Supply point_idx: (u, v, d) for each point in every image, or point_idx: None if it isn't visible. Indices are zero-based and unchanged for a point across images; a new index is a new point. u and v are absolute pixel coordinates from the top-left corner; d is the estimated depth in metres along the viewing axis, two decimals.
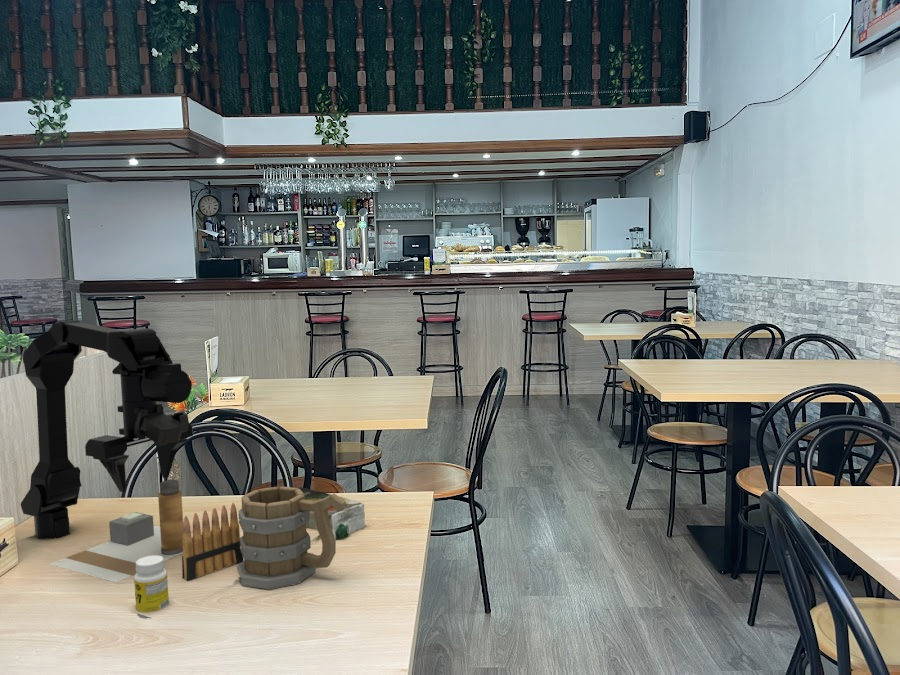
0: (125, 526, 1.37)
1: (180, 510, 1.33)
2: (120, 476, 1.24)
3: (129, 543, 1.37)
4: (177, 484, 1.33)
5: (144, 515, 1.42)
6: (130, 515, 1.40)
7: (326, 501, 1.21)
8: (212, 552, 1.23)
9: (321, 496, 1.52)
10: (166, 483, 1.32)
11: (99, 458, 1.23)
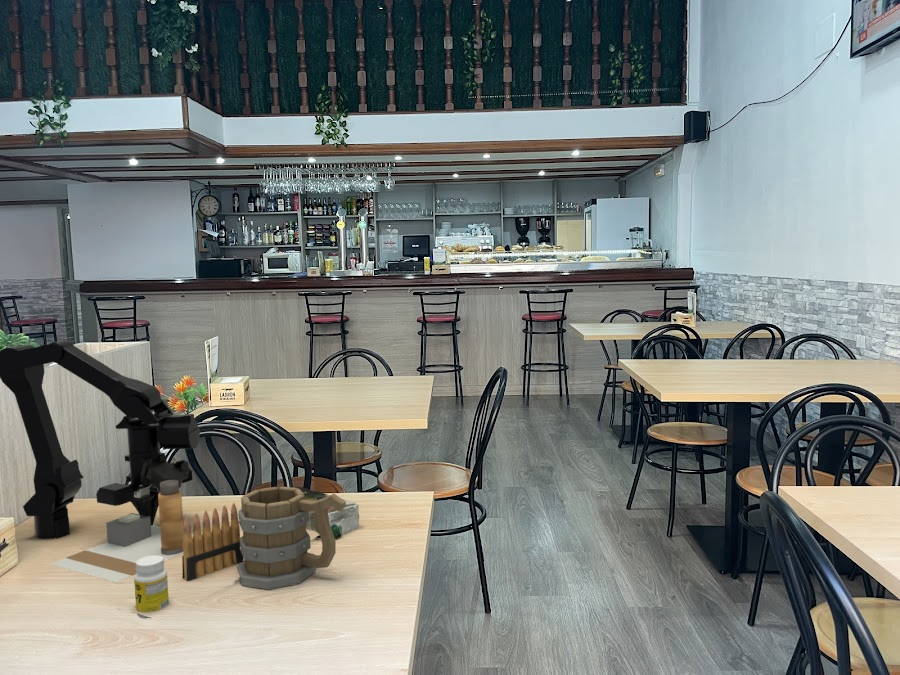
0: (122, 527, 1.36)
1: (180, 510, 1.33)
2: (147, 512, 1.42)
3: (126, 544, 1.36)
4: (177, 484, 1.33)
5: (141, 516, 1.41)
6: (127, 516, 1.40)
7: (326, 501, 1.21)
8: (212, 552, 1.23)
9: (317, 496, 1.52)
10: (166, 483, 1.32)
11: None
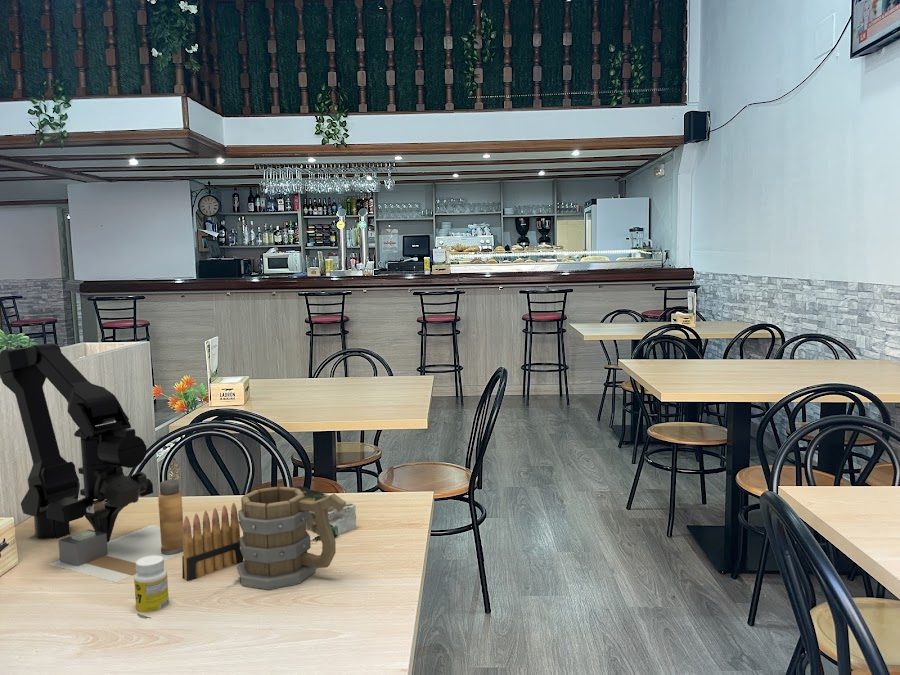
0: (75, 545, 1.27)
1: (180, 510, 1.33)
2: (102, 528, 1.34)
3: (79, 564, 1.28)
4: (177, 484, 1.33)
5: (97, 533, 1.32)
6: (81, 533, 1.31)
7: (326, 501, 1.21)
8: (212, 552, 1.23)
9: (316, 496, 1.52)
10: (166, 483, 1.32)
11: None
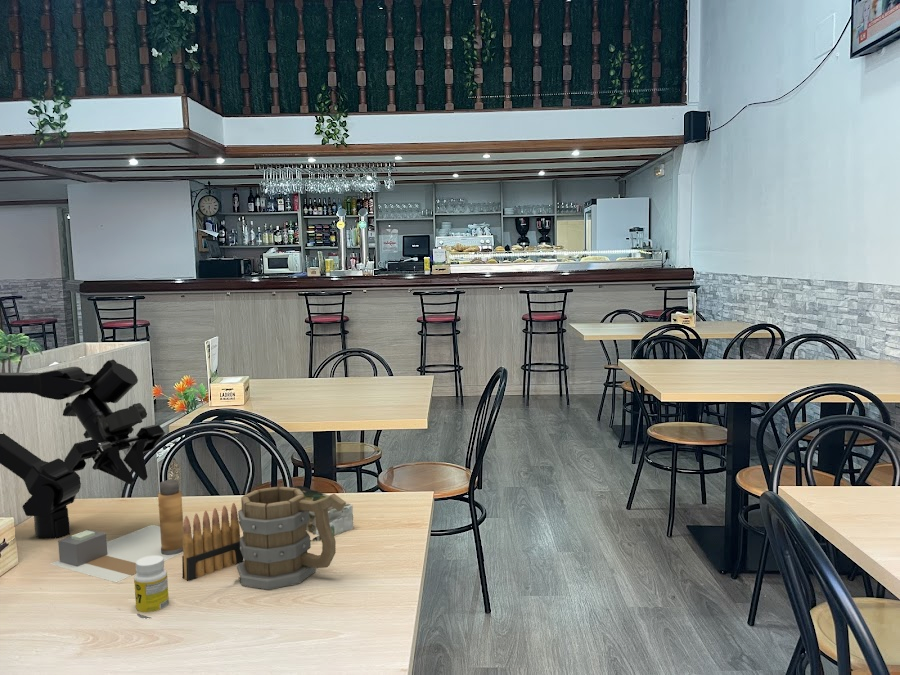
0: (74, 545, 1.27)
1: (180, 510, 1.33)
2: (121, 468, 1.35)
3: (79, 564, 1.28)
4: (177, 484, 1.33)
5: (97, 533, 1.32)
6: (81, 533, 1.31)
7: (326, 501, 1.21)
8: (212, 552, 1.23)
9: (315, 495, 1.52)
10: (166, 483, 1.32)
11: (96, 462, 1.34)
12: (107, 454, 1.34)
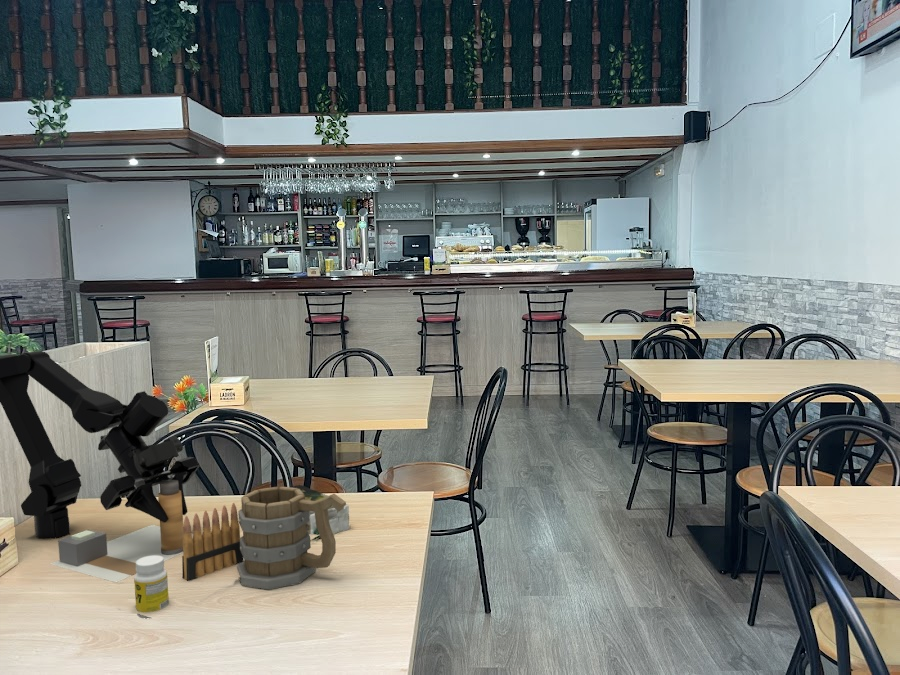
0: (74, 545, 1.27)
1: (180, 510, 1.33)
2: (155, 505, 1.30)
3: (79, 564, 1.28)
4: (177, 484, 1.33)
5: (97, 533, 1.32)
6: (81, 533, 1.31)
7: (326, 501, 1.21)
8: (212, 552, 1.23)
9: (313, 495, 1.53)
10: (166, 483, 1.32)
11: (129, 500, 1.30)
12: (140, 491, 1.30)
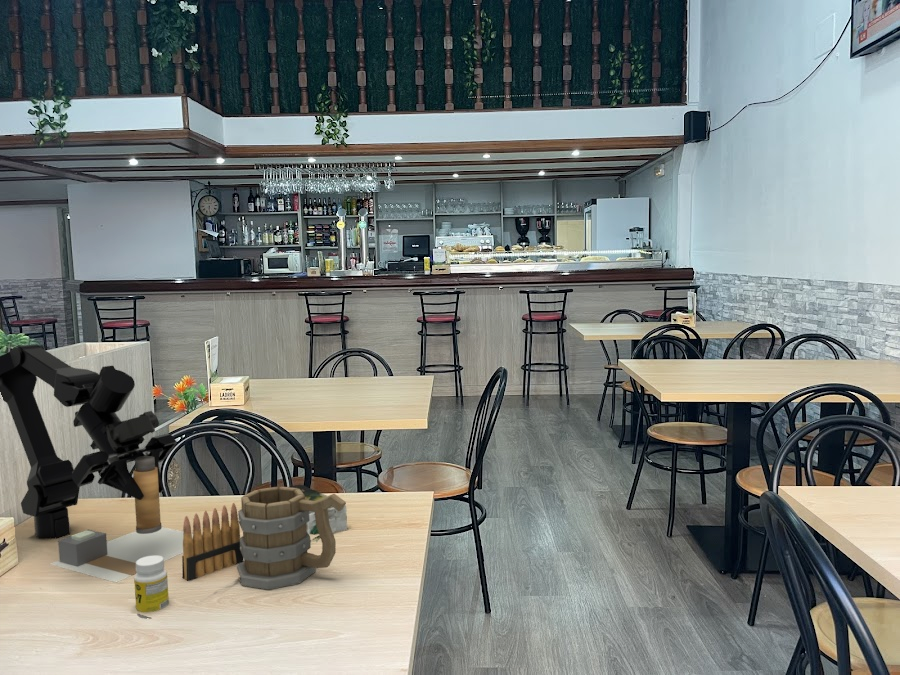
0: (74, 545, 1.27)
1: (156, 487, 1.28)
2: (130, 482, 1.25)
3: (79, 564, 1.28)
4: (153, 460, 1.28)
5: (97, 533, 1.32)
6: (81, 533, 1.31)
7: (326, 501, 1.21)
8: (212, 552, 1.23)
9: (312, 495, 1.53)
10: (141, 459, 1.27)
11: (102, 476, 1.25)
12: (114, 467, 1.24)
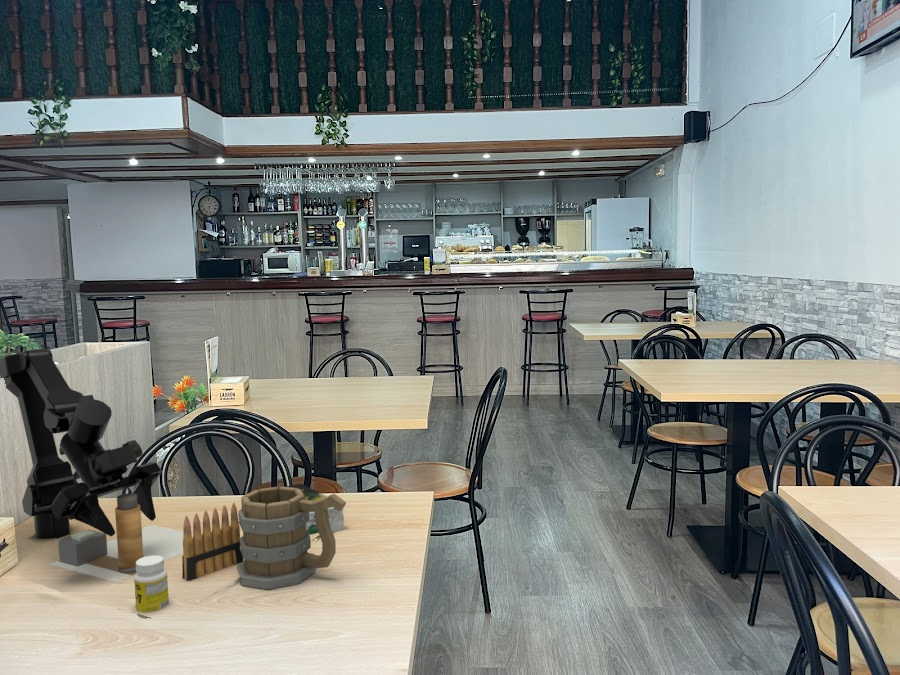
0: (74, 545, 1.27)
1: (139, 526, 1.25)
2: (100, 518, 1.21)
3: (79, 564, 1.28)
4: (135, 498, 1.25)
5: (97, 533, 1.32)
6: (81, 533, 1.31)
7: (326, 501, 1.21)
8: (212, 552, 1.23)
9: (311, 494, 1.53)
10: (123, 497, 1.24)
11: (72, 512, 1.20)
12: (84, 503, 1.20)
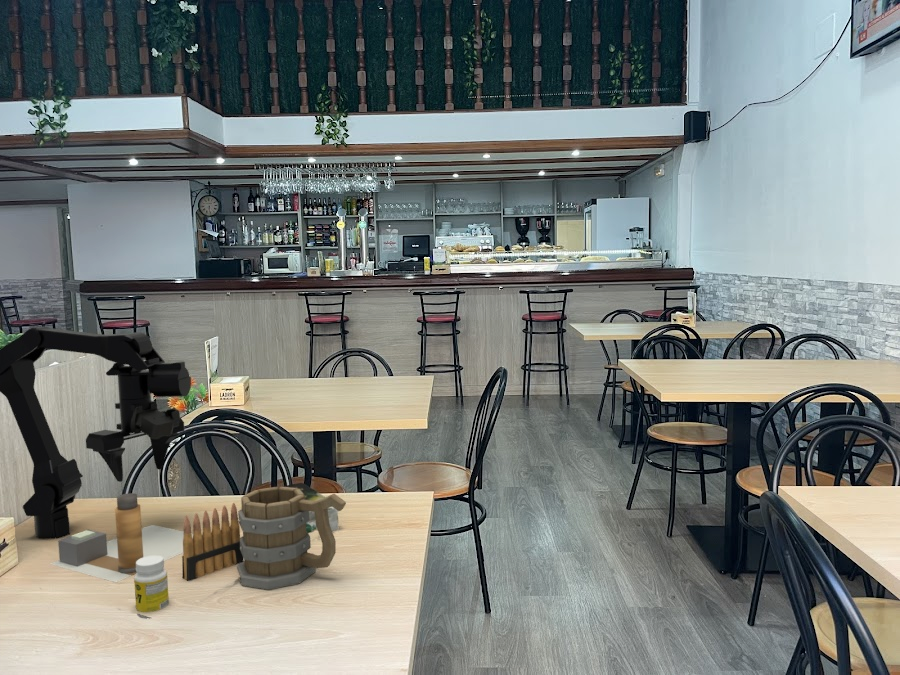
0: (74, 545, 1.27)
1: (139, 526, 1.25)
2: (117, 467, 1.37)
3: (79, 564, 1.28)
4: (135, 498, 1.25)
5: (97, 533, 1.32)
6: (81, 533, 1.31)
7: (326, 501, 1.21)
8: (212, 552, 1.23)
9: (309, 494, 1.54)
10: (123, 497, 1.24)
11: (98, 450, 1.35)
12: None
